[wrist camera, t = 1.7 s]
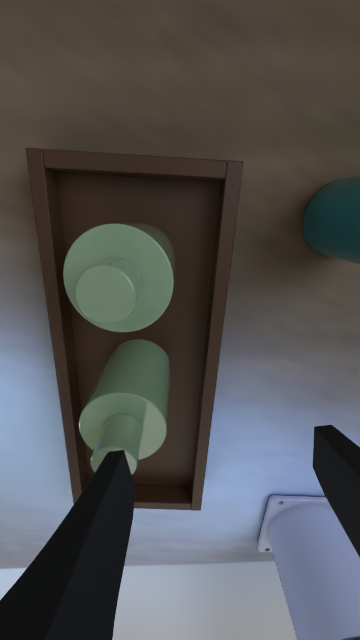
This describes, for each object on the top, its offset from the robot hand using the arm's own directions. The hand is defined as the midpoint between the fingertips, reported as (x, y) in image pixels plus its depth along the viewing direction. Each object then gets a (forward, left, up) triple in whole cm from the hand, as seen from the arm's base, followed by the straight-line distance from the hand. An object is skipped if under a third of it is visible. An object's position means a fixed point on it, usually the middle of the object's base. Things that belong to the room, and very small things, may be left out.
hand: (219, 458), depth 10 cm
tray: (+4, +2, -10) cm, 11 cm away
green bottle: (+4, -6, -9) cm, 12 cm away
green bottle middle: (+4, +2, -9) cm, 10 cm away
